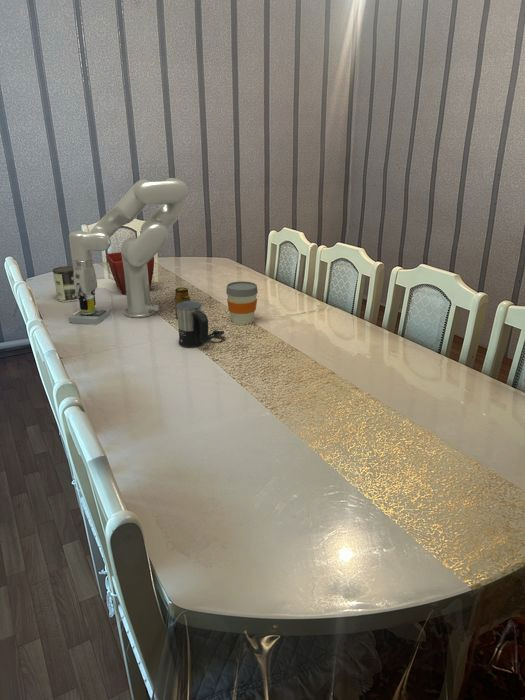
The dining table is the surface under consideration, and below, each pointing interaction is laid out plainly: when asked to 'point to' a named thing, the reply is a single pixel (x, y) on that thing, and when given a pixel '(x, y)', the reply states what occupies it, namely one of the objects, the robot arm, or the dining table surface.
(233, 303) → the reusable coffee cup
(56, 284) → the coffee can
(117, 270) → the plant pot
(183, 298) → the condiment
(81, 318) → the dock
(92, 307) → the supplement bottle
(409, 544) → the dining table surface
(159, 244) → the robot arm
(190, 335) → the milk frother
